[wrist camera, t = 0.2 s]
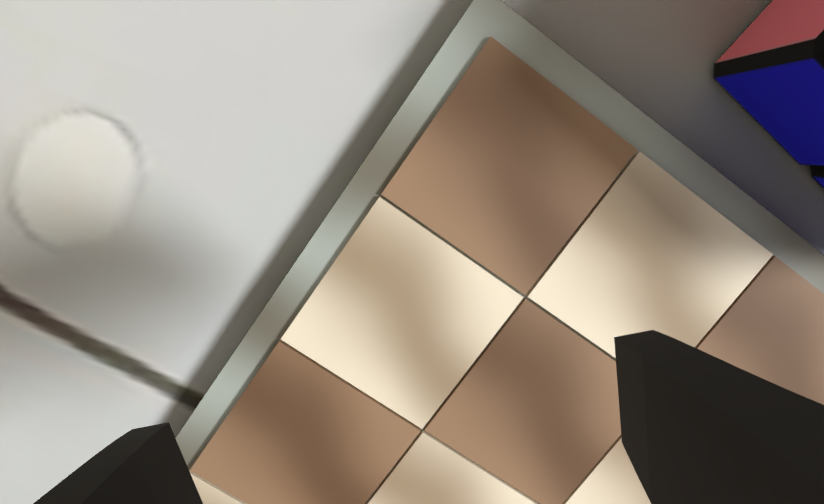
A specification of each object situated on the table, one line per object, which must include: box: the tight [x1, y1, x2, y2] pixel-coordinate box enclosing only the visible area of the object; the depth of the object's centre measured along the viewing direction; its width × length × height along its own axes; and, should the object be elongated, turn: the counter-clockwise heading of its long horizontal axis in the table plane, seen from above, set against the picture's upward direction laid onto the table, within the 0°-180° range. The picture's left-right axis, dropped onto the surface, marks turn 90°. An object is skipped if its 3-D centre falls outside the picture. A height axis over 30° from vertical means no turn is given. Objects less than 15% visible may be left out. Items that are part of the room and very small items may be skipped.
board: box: [175, 0, 824, 504], centre depth 20 cm, size 26×20×1 cm
